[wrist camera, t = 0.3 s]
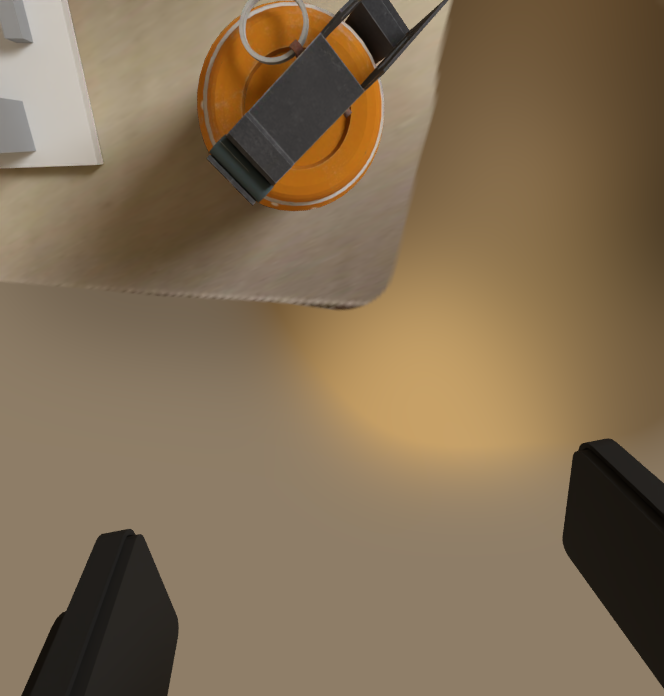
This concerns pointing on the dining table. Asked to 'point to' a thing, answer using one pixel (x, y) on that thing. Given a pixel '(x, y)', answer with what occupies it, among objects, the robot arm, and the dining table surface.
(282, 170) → the canister
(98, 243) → the dining table surface
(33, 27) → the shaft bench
